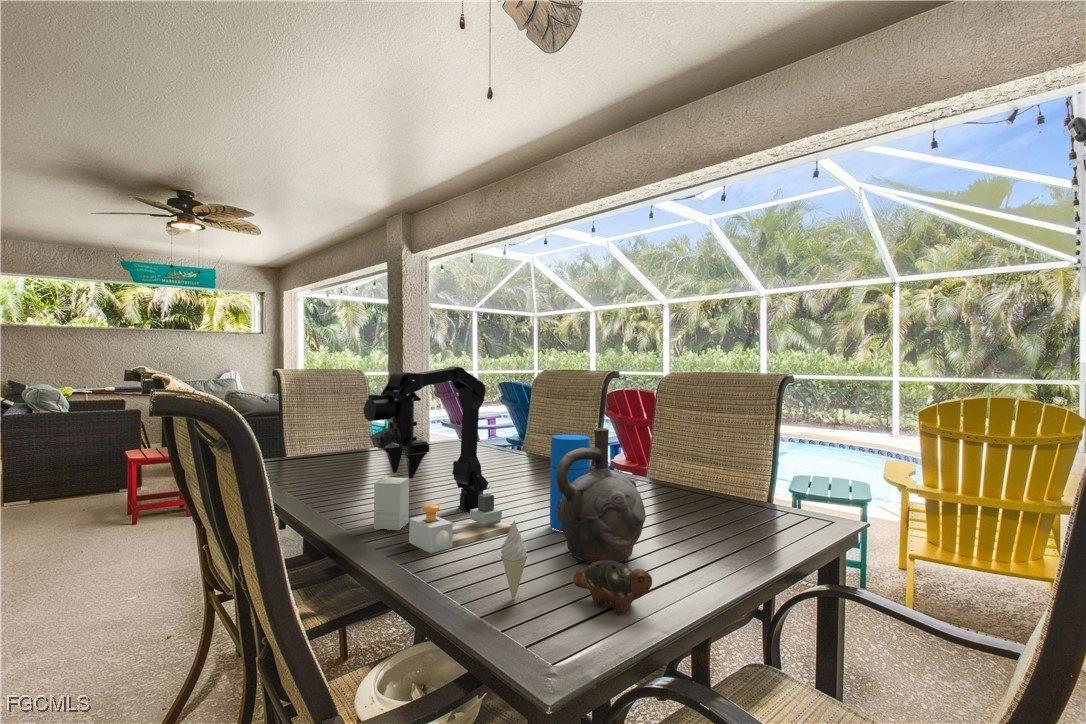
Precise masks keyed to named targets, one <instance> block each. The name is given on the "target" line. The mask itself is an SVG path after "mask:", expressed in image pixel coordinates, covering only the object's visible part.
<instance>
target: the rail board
mask: <svg viewBox="0 0 1086 724" xmlns="http://www.w3.org/2000/svg"><path fill="white" fill-rule="evenodd" d="M511 527H512V524H508V523H505V522H504V521H503V522H502V520H499V521H495V522H491V523H487V524H482V523H479V522H476V521H474V520H471V521H469V522H465V523H460V524H455V525H453V532H452V548H456V547H460V546H463V545H466V544H467V545H468V544H469V543H470V544H471V543H475V542H478V541H481V540H485V539H488V538H491V537H492V538H493V537H496V536H499V534H500V535H503V533H504V534H506V532H507V533H508V532H509V531H510V529H511Z"/></svg>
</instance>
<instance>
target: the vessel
mask: <svg viewBox="0 0 1086 724" xmlns="http://www.w3.org/2000/svg"><path fill="white" fill-rule="evenodd" d="M593 429H594V430H593V432H594V448H591V447H590V448H580V449H576V450H573V451H571V452H569V453H567V454H566V455H565V456H564V457H563V458H562V460H561V461H560V463H559V465H558V469H557V483H558V486H559V488H560V490H561V491H562V493H563V496H562V500H561V501H560V504H559V510H558V511H559V516H560V519H561V525H562V529H563V532H564V533H563V535H564V537H565V539H566V547H567V549H568V551H569V552H568V553H570V554H571V555H572V556H573V557H574V558H577V560H578V559H579V560H581V561H584V562H588V563H591V564H592V563H594V562H597V561H602V560H611V561H616V562H619V563H620V562H624V561H626V560H628V559H629V558H630V557H631V556H632V554H633V550H634V546H635V545H636V543H637V542H638V541H639V538H640V537H641V535H642V532H643V526H644V524H645V522H646V515H647V514H646V509H645V505H644V502H643V498H642V496H641V493H640V491H639V490H638V489H637V483H636V481H635V480H634V479H631V478H629V477H627V476H625V475H621V474H618V473H614V472H612V470H611V469H610V467H609V436H610V435H609V433H610V430H609V429H608V428H605V427H603V428H602V427H597V428H593ZM583 459H588V460H590V461H594V468H593V470H592V471H590V473H588V474H585V475H583V476H581V477H579V478H577V479H576V480H575V481H574V482H573V483H570V482H569V480H568V470H569V468H570V467H571V465H572V464H573V463H574V462H575V461H577V460H583Z"/></svg>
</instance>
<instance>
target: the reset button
mask: <svg viewBox="0 0 1086 724" xmlns="http://www.w3.org/2000/svg"><path fill="white" fill-rule="evenodd" d="M439 511H440V505H439V504H435V503H429V504H424V505H422V512H424V513H425V515H426V523H428V524H429V523H433V522H436V516H437V513H438V512H439Z"/></svg>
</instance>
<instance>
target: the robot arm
mask: <svg viewBox="0 0 1086 724" xmlns="http://www.w3.org/2000/svg"><path fill="white" fill-rule="evenodd" d="M446 382H450V383H451V385H452V387H453V388H454V389H455V390H456V391H457V393H458V394H457V396H458V402H459V404H460V405H461V408H462V416H461V417H462V419H461V440H460V455H459V457H458V459H457V460H454V461H453V462H452V472H451V474H452V475H453V480H454V481H455V482H456V486H457V488H461V489H460V495H459V505H458V506H457V508H458V509H460V510H463V511H466V512H469V513H470V510H472V509H476V508H478V495H481V494H484V491H485V490H488V486H489V481H488V480H487V479H486V478H485V477H484V475H482V465H481V462H480V460H479V458H478V436H479V434H478V433H479V432H478V431H479V418H480V417H479V414H480V411H479V410H480V409H481V406H482V405H483V403H484V402H485V399H486V398H485V397H486V393H487V392H486V391H487V387H486V385H485V384H484V382H483V381H481V380H479V379H478V378H477V377H475V376H474V375H472V374H471V373H469V372H467V370H465V369H464V368H463V367H462V366H449V367H444V368H439V369H434V370H428V371H421V372H410V371H409V372H407V371H406V372H405V371H404V372H403V371H396V372H393V373H392V374H391V375H390V377H389V379H388V382H387V384H386V385H385V387H384V389H382V392H380V394H368V399H367V400H366V401H365V403H364V406H363V416H364V418H365V419H366V420H367V421H368V422H375V421H386V420H387V421H388V420H391V421H389V422H388V423H387V428H384V429H382V430H379V431H378V432H375V433H372V434H371V435H369V436H370V440H371V443H372V445H373V448H377V449H379V450H382V451H383V452H384V453H385V454H386V456H387V458H388V461H389V462H388V463H389V465H390V468H391V471H392V473H393V474H396V473H397V472H398V469H399V466H400V462H401V459H402V456H403V458H405V460H406V467H407V469H406V470H407V475H408V477H407V478H409V480H410V479H413V478H414V476H415V475H416V472H417V471H418V468H419V466H420V465H421V462H422V461H423V459H424V457H425V456H426V455H427V454H428V453H429V452H430V443H429V442H427V441H425V440H422V439H419V440H418V439H417V436H414V434H415V432H414V430H415V429H414V428H415V427H416V426H417V425H418V423H417V421H415V418H414V417H415V415H414V414H415V402H420V401H422V398H421V397H419V395H417V393H416V392H418V391H420V390H422V389H424V387H427V386H432V385H435V384H436V385H437V384H441V383H446Z"/></svg>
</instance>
